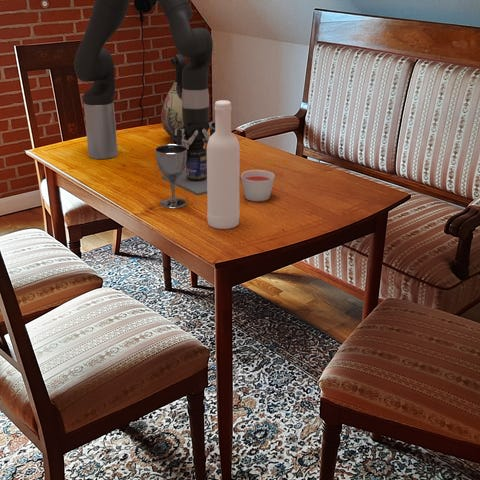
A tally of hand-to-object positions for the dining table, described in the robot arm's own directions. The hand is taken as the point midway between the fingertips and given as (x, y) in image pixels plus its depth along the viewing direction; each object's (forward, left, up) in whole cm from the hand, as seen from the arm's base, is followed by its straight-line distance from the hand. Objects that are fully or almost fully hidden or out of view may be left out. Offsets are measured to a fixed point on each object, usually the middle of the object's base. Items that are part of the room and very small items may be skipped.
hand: (196, 160), depth 179 cm
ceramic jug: (-35, +20, -6) cm, 41 cm away
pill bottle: (0, 0, -6) cm, 6 cm away
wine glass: (+11, -15, -6) cm, 20 cm away
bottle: (+29, -13, -6) cm, 32 cm away
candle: (+21, +5, -6) cm, 23 cm away
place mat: (+1, -1, -6) cm, 6 cm away
